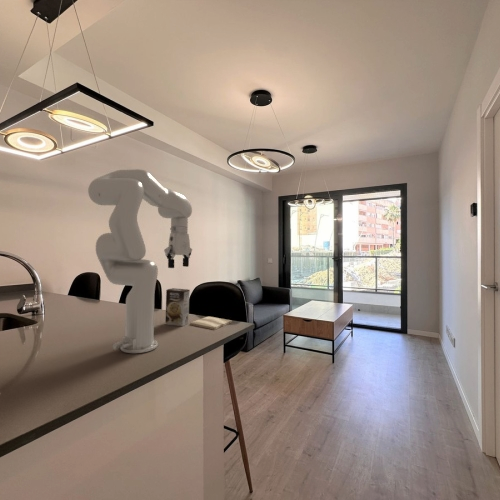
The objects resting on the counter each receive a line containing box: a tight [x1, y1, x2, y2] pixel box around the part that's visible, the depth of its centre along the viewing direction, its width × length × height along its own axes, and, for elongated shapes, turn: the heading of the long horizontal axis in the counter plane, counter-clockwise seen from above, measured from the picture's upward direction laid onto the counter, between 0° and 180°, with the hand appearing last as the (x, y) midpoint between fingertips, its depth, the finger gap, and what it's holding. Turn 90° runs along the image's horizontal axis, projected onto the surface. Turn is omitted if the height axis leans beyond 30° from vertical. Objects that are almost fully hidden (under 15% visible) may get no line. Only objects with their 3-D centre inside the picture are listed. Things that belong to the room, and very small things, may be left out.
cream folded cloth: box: [189, 316, 233, 330], centre depth 136 cm, size 14×14×1 cm
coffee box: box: [164, 287, 191, 327], centre depth 135 cm, size 9×6×16 cm
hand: (178, 267), depth 134 cm, fingers open, 9 cm apart
